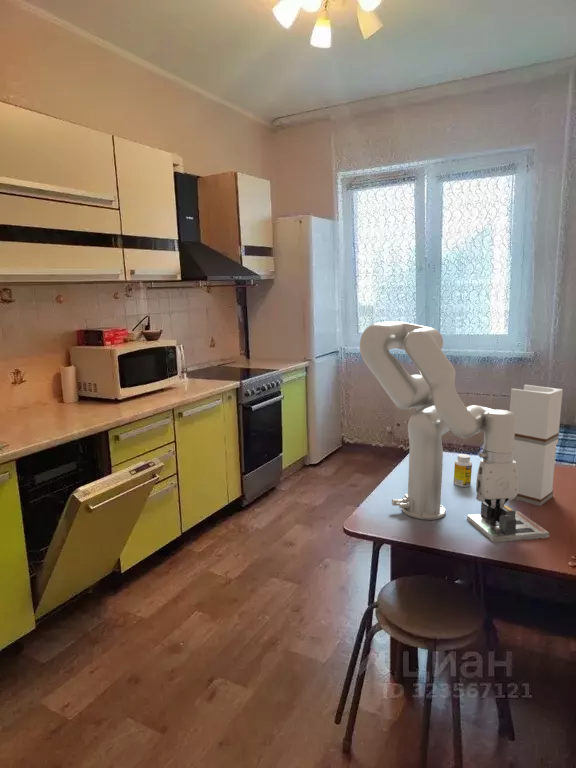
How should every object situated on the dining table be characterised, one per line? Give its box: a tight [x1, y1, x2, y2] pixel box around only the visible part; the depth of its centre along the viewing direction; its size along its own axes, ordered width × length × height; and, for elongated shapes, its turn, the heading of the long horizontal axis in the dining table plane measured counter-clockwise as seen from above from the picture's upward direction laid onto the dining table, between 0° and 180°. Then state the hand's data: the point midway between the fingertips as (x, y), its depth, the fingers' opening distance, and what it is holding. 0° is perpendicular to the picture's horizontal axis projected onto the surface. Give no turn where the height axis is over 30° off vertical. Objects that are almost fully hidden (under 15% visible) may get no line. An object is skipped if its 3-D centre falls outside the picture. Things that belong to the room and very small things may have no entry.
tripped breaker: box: [501, 505, 517, 518], centre depth 145 cm, size 3×3×4 cm
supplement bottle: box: [453, 453, 473, 488], centre depth 178 cm, size 6×6×10 cm
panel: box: [466, 502, 550, 543], centre depth 145 cm, size 16×14×6 cm
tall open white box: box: [509, 384, 563, 507], centre depth 166 cm, size 11×11×35 cm
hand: (494, 520), depth 145 cm, fingers closed
